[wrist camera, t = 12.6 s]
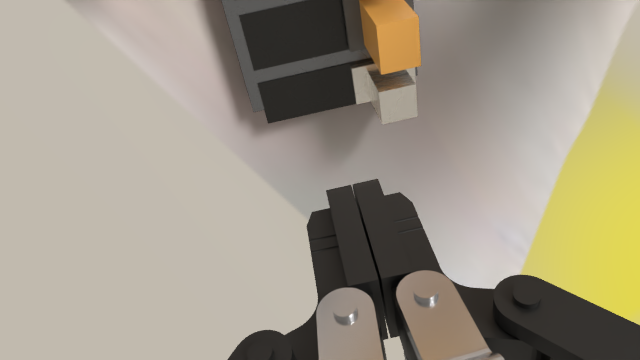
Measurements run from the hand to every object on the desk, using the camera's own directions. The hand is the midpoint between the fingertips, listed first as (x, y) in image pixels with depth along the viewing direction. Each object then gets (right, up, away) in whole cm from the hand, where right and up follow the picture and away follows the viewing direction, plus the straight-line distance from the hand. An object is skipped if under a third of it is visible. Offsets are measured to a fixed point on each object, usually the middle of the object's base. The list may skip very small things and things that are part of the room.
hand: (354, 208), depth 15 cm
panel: (-1, +12, +20) cm, 24 cm away
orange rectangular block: (+3, +11, +18) cm, 22 cm away
